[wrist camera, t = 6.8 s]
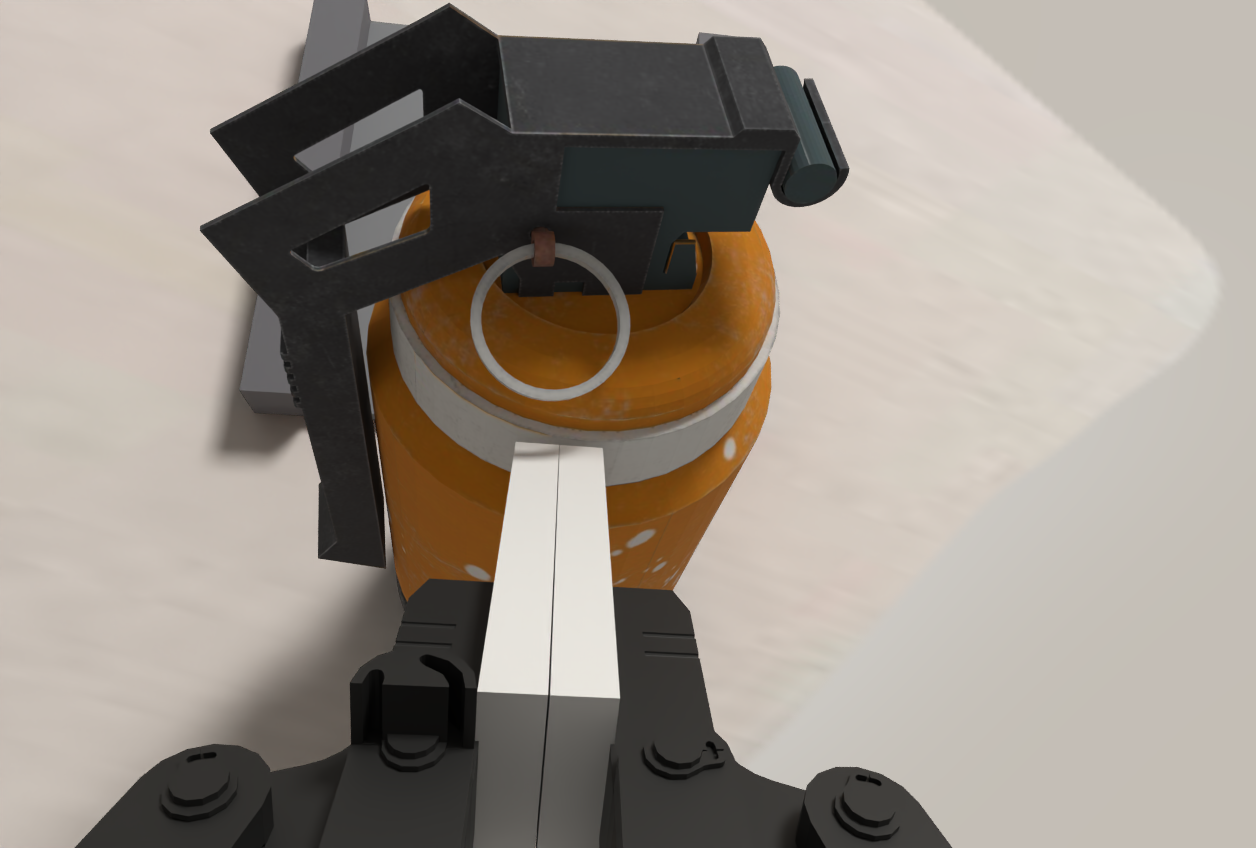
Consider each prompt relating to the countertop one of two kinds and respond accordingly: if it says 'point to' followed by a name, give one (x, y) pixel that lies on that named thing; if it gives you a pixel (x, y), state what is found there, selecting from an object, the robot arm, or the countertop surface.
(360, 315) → the tray
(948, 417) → the countertop surface
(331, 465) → the canister
